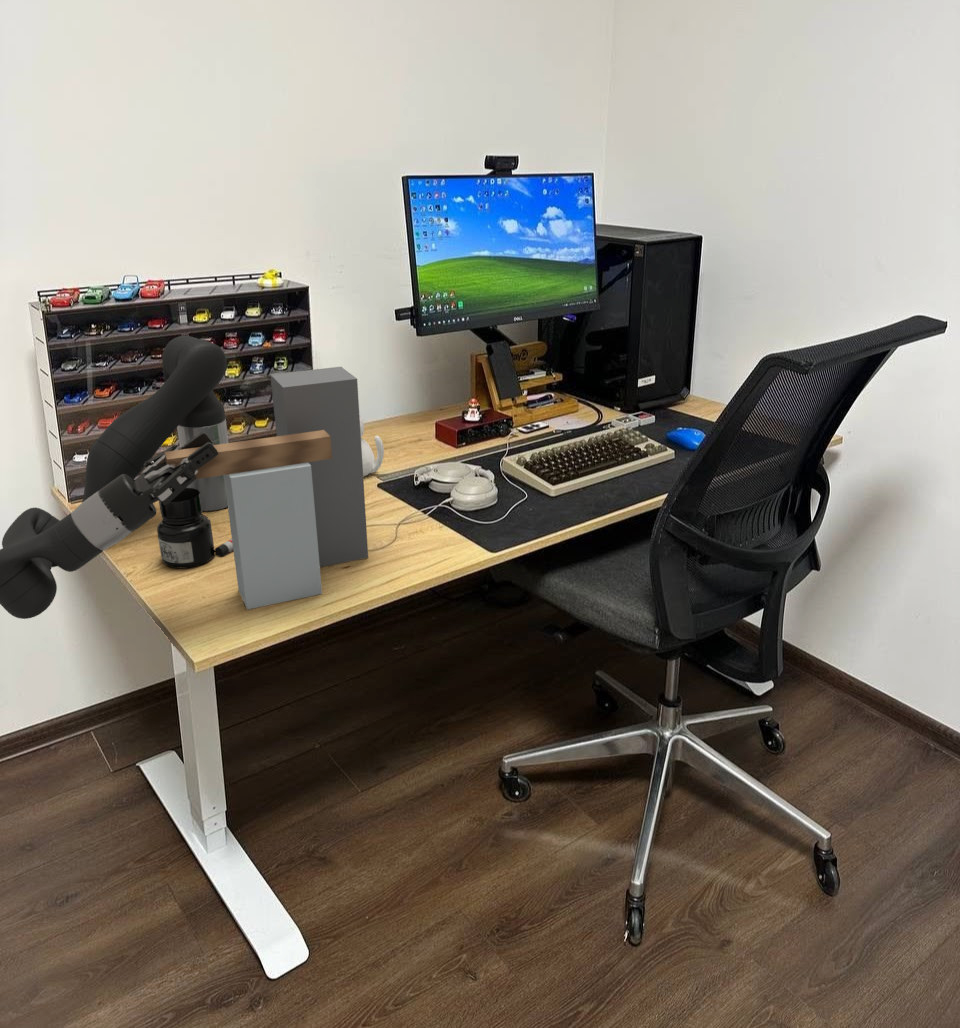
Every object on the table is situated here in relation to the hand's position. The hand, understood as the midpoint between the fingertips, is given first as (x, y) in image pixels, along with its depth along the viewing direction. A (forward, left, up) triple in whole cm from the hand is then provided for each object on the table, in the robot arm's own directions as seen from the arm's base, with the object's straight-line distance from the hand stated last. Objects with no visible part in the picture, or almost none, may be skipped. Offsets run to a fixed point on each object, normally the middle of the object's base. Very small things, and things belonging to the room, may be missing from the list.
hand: (210, 442), depth 131 cm
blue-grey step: (+6, +5, -27) cm, 28 cm away
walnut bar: (+4, +4, -5) cm, 7 cm away
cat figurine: (-3, +59, -27) cm, 65 cm away
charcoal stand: (+8, +20, -27) cm, 34 cm away
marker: (-9, +22, -27) cm, 36 cm away
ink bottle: (-15, +12, -27) cm, 33 cm away
